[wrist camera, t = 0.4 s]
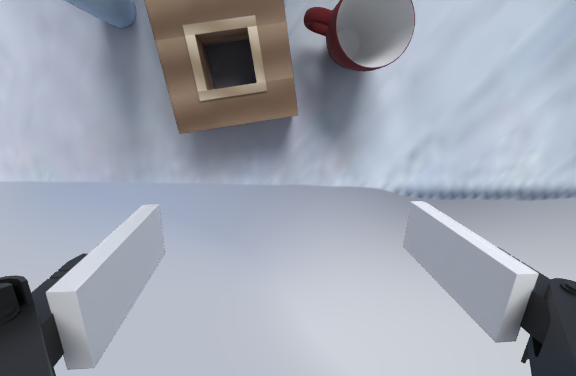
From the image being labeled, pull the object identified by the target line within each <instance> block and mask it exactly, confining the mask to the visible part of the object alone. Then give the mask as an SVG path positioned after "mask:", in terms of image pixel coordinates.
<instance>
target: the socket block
mask: <svg viewBox="0 0 576 376" xmlns="http://www.w3.org/2000/svg"><path fill="white" fill-rule="evenodd" d="M145 4H146V8H147V12H148V16H149V20H150V23H151V27H152V31H153V35H154V39H155V42H156V46H157V50H158V54H159V58H160V62H161V65H162V69H163V73H164V77H165V81H166V84H167V88H168V92H169V96H170V100H171V104H172V107H173V111H174V115H175V119H176V123H177V127H178V130H179V134H182V133H188V132H195V131H201V130H207V129H214V128H220V127H227V126H233V125H239V124H246V123H252V122H259V121H265V120H271V119H278V118H284V117H291V116H297V115H298V108H297V101H296V93H295V85H294V78H293V70H292V62H291V55H290V47H289V39H288V32H287V24H286V16H285V9H284V1H283V0H145ZM243 40H250V46H251V52H252V57H253V63H254V69H255V75H256V81H257V83H253V84H246V85H239V86H233V87H226V88H219V89H215V88H214V83H213V78H212V73H211V69H210V64H209V59H208V55H207V50H206V46H208V45H215V44H222V43H229V42H236V41H243Z"/></svg>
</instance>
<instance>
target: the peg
mask: <svg viewBox="0 0 576 376" xmlns="http://www.w3.org/2000/svg"><path fill="white" fill-rule="evenodd" d="M65 1H66V2H68V3H70V4H72V5H74V6H76V7H78V8H80V9H82V10H84V11H86V12H88V13H90V14H92V15H94V16H95V17H97V18H99V19H101V20H103V21H105V22H107V23H109V24H111V25H113V26H115V27H118V28H125V27H128V26H130V25H131V24H132V23H133V21H134V20H135V17H136V8H135V4H134V2H133V0H65Z"/></svg>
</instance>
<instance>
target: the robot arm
mask: <svg viewBox="0 0 576 376" xmlns="http://www.w3.org/2000/svg"><path fill="white" fill-rule="evenodd" d="M403 247H404V248H405V249H406V250H407V251H408V252H409V253H410V254H411V255H412V256H413V257H414V258H415V259H416V261H418V263H419V264H421V266H422V267H423V268H424V269H425V270H426V271H427V272H428V273H429V274H430V275H431V276H432V277H433V278H434V279H435V280H436V281H437V282H438V283H439V284H440V285H441V286H442V287H443V289H444V290H445V291H446V292H448V294H449V295H450V296H451V297H452V298H453V299H454V300H455V301H456V302H457V303H458V304H459V305H460V306H461V307H462V308H463V309H464V310H465V311H466V312H467V313H468V314H469V316H470V317H471V318H472V319H473V320H474V321H475V322H476V323H477V324H478V325H479V326H480V327H481V328H482V329H483V330H484V331H485V332H486V333H487V334H488V335H489V336H490V337H491V338H492V339H493V340H494V341H495V342H512V341H516V339H517V336H518V333H519V330H520V327H522V328H523V329H525V330H526V331H527V332H528V333H529V334H530V337H529V340H528V343H527V345H526V349H525V351H524V354H523V357H522V360H521V362H523V363H525V362H526V360H527V359H529V360H530V367H531V373H532V376H576V282H574V281H571V280H566V279H561V278H554V279H551V280H550V279H549V278H547V277H546V276H544V275H542V274H541V273H539V272H538V271H536V270H534V269H533V268H531V267H530V266H528V265H526V264H525V263H523V262H520V260H518V259H517V258H515V257H513V256H511V255H510V254H509V253H507V252H505V251H504V250H502V249H501V248H499V247H496V246H494V245H493V244H491V243H489V242H488V241H486V240H485V239H483V238H482V237H480V236H478V235H477V234H475V233H474V232H472V231H470V230H469V229H467V228H466V227H464V226H463V225H461V224H459V223H458V222H456V221H454V220H453V219H451V218H450V217H448V216H446V215H445V214H443V213H442V212H440V211H438V210H437V209H435V208H434V207H432V206H431V205H429V204H427V203H426V202H424V201H413V202H411V203H410V209H409V215H408V221H407V227H406V233H405V239H404V245H403ZM164 254H165V248H164V239H163V231H162V223H161V214H160V206H159V204H144V205H142V206H141V207H140V208H139V209H138V210H136V211H135V212H134V213H133V214H132V215H131V216H130V217H129V218H128V219H126V220H125V221H124V222H123V223H122V224H121V225H120V226H119V227H118V228H117V229H115V230H114V231H113V232H112V233H111V234H110V235H109V236H108V237H106V238H105V239H104V240H103V241H102V242H101V243H100V244H99V245H98V246H96V247H95V248H94V249H93V250H92V251H91V252H90V253H89V254H82V255H80V256H78V257H76V258H74V259H72V260H70V261H68V262H67V263H66V264H65V265H64V266H62V267H61V268H60V269H59V271H58V272H55V273H54V274H53V275H52V276H51V277H50V279H47V280H46V281H45V282H44V283H42V284H41V285H40V286H39V287H38V288H37V289H35V290H34V291H33V292H32V293H31V291H30V288H29V285H28V281H27V279H25V278H24V277H22V276H5V277H1V278H0V376H56V374H55V371H54V368H53V367H54V366H55V364H56V363H57V362H58V360H59V359H60V358H61V357H62V355H63V356H64V359H65V363H66V366H67V369H68V370H71V369H87V368H95V366H96V365H97V363H98V362H99V360H100V358H101V357H102V355H103V353H104V352H105V350H106V348H107V347H108V345H109V344H110V342H111V340H112V339H113V337H114V335H115V334H116V332H117V331H118V329H119V327H120V326H121V324H122V323H123V321H124V319H125V318H126V316H127V314H128V313H129V311H130V310H131V308H132V306H133V305H134V303H135V301H136V300H137V298H138V297H139V295H140V293H141V292H142V290H143V288H144V287H145V285H146V284H147V282H148V280H149V279H150V277H151V275H152V274H153V272H154V271H155V269H156V267H157V266H158V264H159V262H160V261H161V259H162V258H163V256H164Z"/></svg>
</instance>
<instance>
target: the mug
mask: <svg viewBox="0 0 576 376" xmlns="http://www.w3.org/2000/svg"><path fill="white" fill-rule="evenodd" d="M304 24H305V26H306V28H308V29H309V30H311V31H313V32H315V33H318V34H321V35H324V36H326V43H327V49H328V52H329V54H330V56H331V58H332V59H333V60H334V61H335V62H336V63H337V64H338V65H340V66H342V67H344V68H347V69H351V70H355V71H372V70H376V69H379V68H382V67H384V66H387V65H389V64H391V63H392V62H394V61H395V60H396V59H398V58H399V57H400V56H401V55H402V54H403V52H404V51H405V50H406V48H407V46H408V45H409V43H410V41H411V38H412V35H413V31H414V26H415V12H414V7H413V3H412V1H411V0H340V1H339V3H338V4H337V5H336V7H335V8H334V9H333V10H329V9H326V8H321V7H313V8H310V9H308V10H307V12H306V13H305V16H304Z"/></svg>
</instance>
